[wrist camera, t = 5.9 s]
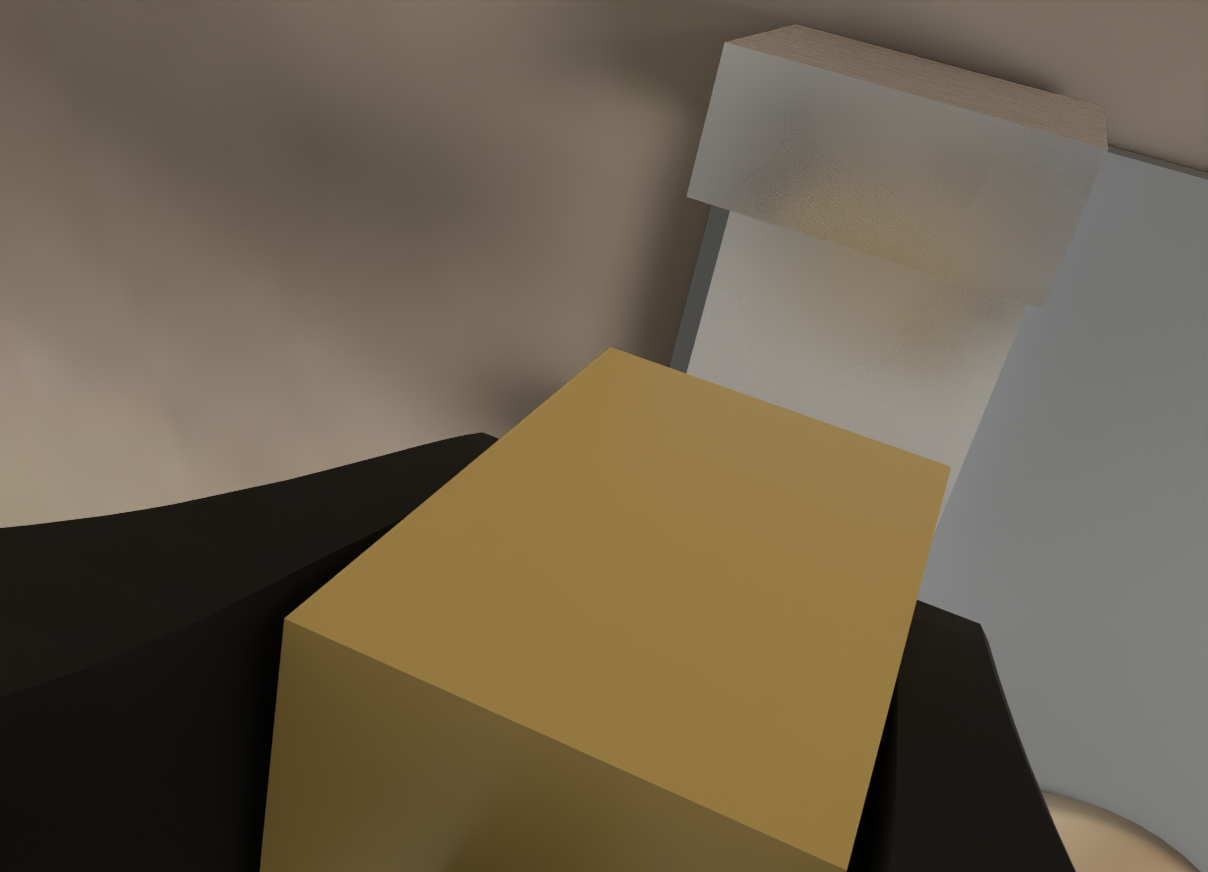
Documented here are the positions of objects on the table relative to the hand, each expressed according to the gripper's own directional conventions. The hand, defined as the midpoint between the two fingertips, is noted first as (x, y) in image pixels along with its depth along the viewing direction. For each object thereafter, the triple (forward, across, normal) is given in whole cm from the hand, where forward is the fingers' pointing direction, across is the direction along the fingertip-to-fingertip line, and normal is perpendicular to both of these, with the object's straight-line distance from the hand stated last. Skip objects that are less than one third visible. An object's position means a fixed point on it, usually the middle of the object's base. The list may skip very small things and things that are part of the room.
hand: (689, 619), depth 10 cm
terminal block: (+8, 0, 0) cm, 8 cm away
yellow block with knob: (+1, 0, 0) cm, 1 cm away
